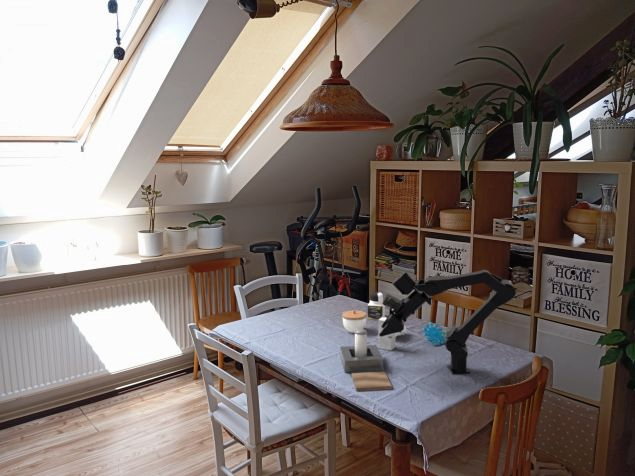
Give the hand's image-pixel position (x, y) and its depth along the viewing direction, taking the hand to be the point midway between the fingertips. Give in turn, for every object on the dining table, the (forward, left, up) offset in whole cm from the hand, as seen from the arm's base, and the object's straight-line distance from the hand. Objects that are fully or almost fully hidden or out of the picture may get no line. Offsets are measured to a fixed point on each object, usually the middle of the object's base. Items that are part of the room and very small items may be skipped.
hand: (381, 331), depth 198 cm
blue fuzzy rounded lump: (+20, -27, -13) cm, 36 cm away
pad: (-14, +6, -13) cm, 20 cm away
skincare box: (+17, -6, -13) cm, 23 cm away
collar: (+2, +7, -13) cm, 15 cm away
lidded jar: (+39, +4, -13) cm, 42 cm away
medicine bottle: (+56, -9, -13) cm, 58 cm away
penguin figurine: (+29, -12, -13) cm, 34 cm away
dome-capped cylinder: (+2, +7, -13) cm, 15 cm away
